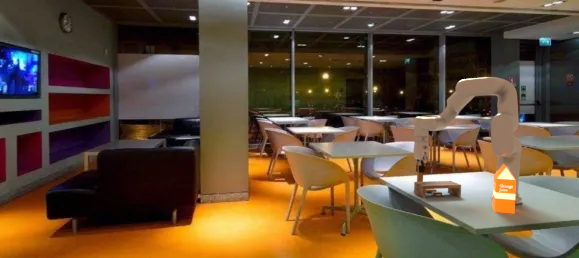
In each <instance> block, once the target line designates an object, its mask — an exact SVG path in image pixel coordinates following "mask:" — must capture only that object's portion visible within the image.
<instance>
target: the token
mask: <svg viewBox="0 0 579 258" xmlns="http://www.w3.org/2000/svg"><path fill="white" fill-rule="evenodd" d="M431 195H432V196H433V197H443V192H441V191H436V192H431Z"/></svg>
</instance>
